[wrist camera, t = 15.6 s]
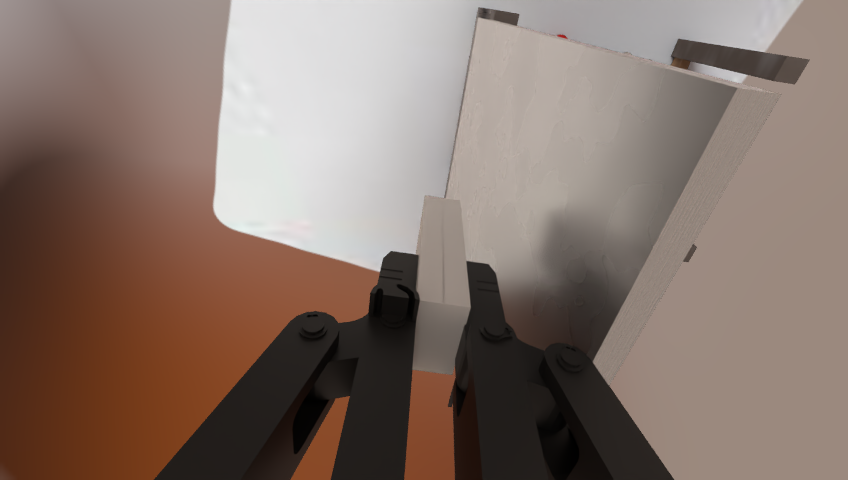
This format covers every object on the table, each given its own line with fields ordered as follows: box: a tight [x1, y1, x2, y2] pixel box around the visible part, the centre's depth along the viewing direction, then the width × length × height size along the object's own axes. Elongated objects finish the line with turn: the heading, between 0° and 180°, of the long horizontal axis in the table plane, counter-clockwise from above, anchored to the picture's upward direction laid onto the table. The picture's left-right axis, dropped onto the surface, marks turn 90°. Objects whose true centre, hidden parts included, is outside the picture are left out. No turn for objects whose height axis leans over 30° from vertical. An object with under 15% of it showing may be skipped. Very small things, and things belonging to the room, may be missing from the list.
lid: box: [444, 8, 781, 386], centre depth 19 cm, size 16×22×1 cm
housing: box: [484, 8, 809, 262], centre depth 35 cm, size 16×20×14 cm
